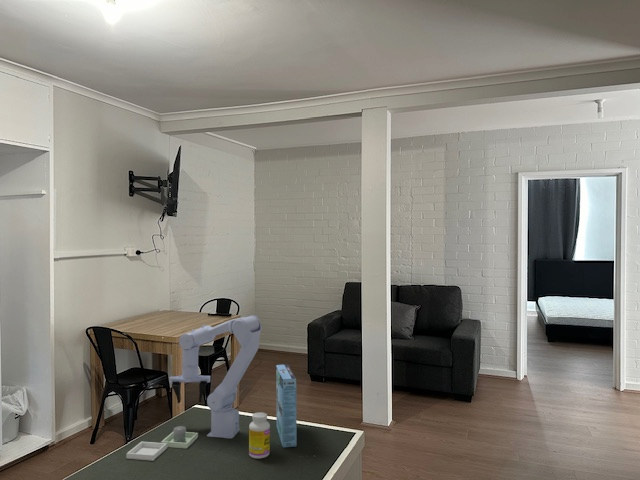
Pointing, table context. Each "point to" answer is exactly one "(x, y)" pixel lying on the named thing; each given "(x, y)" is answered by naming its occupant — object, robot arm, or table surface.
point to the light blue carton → (286, 405)
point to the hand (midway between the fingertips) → (189, 401)
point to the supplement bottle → (259, 436)
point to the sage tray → (189, 440)
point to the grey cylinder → (180, 434)
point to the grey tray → (146, 451)
